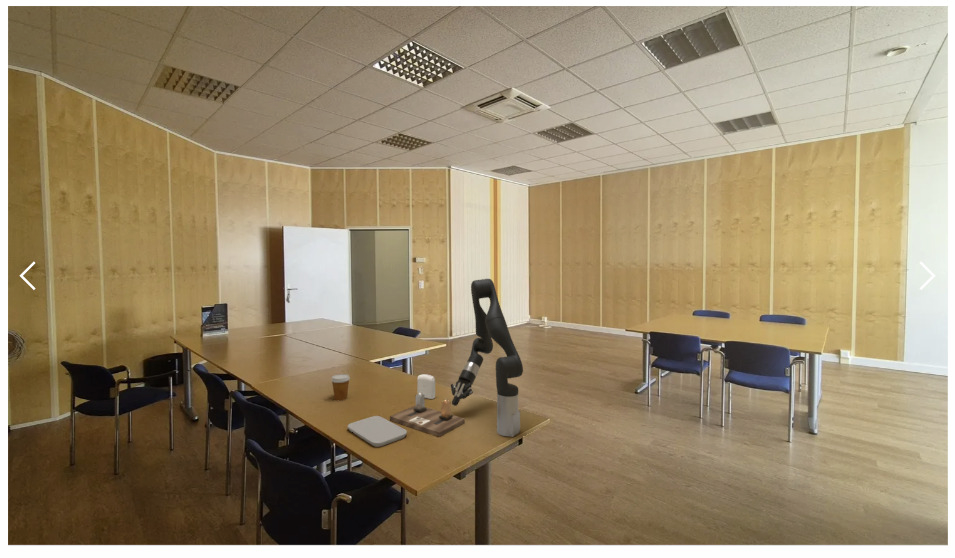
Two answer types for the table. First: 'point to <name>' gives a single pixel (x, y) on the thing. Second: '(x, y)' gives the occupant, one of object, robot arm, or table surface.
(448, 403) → the copper switch
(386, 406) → the table surface
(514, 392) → the robot arm
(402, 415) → the switch board
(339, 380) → the disposable coffee cup
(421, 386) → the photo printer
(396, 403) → the table surface
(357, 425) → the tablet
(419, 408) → the grey switch
